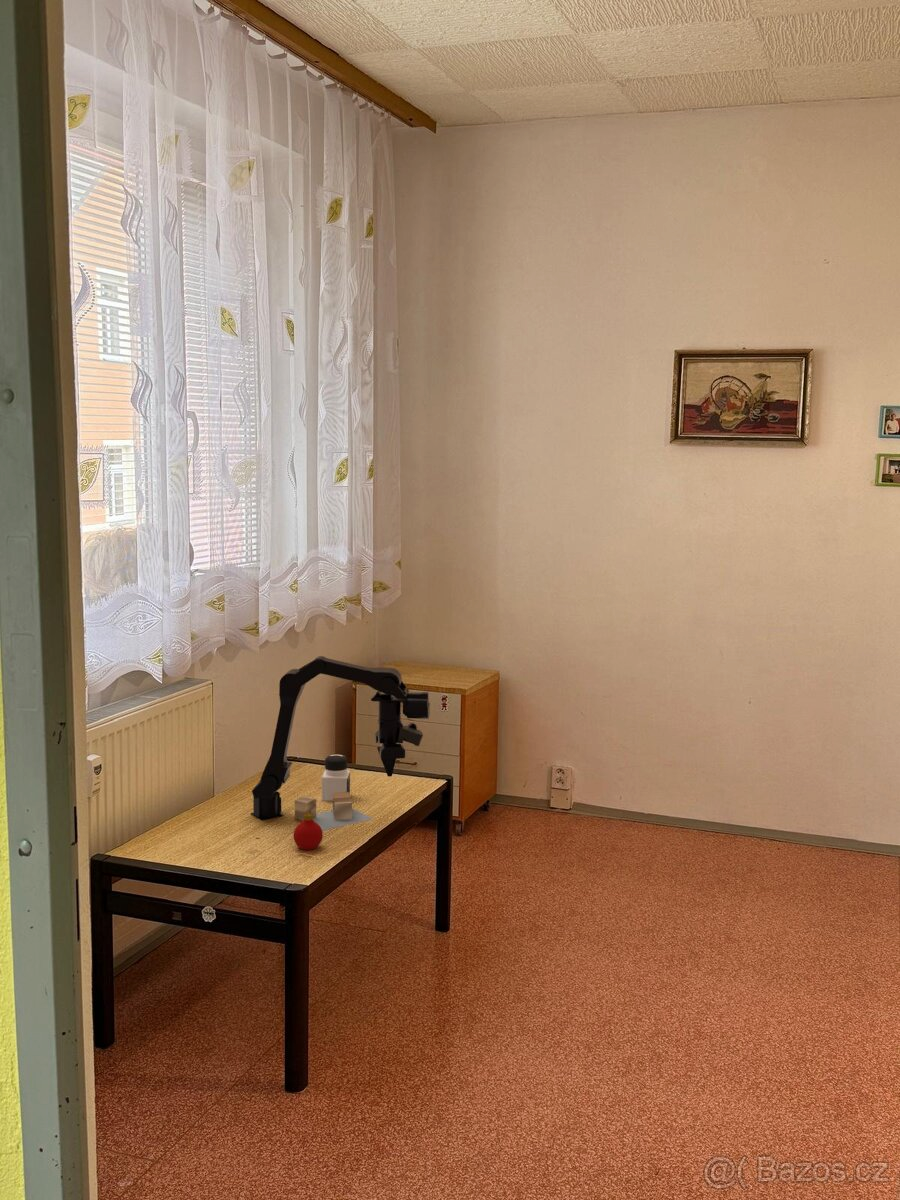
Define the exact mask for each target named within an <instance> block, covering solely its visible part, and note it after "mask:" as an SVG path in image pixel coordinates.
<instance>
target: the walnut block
mask: <svg viewBox="0 0 900 1200" xmlns="http://www.w3.org/2000/svg"><path fill="white" fill-rule="evenodd" d="M352 809H353V801H352V797H351V791H350V792H339V793H333V801H332V810H333V813H334V819H335V820H348V819H352Z"/></svg>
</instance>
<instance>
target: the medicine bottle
mask: <svg viewBox="0 0 900 1200" xmlns="http://www.w3.org/2000/svg"><path fill="white" fill-rule="evenodd" d="M339 792H350V793H351V770H349V769H348V758H347V757H346V756H345V755H342V754H332V755H331V754H330V755H328V756H325V758H324V771H323V773H322V775H321V801H322V802H333V793H339Z"/></svg>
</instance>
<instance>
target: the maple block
mask: <svg viewBox="0 0 900 1200" xmlns="http://www.w3.org/2000/svg"><path fill="white" fill-rule="evenodd" d="M307 810H308V811H307ZM309 810H310V811H311V813H310V811H309ZM306 811H307V814H312V819H313V818H315V817H316V814H317V798H315V797H309V796H306V795H304V796H301V797H298V798H296V799H294V819H295V820H299V821H301V820H303V821H304V815H305V814H306ZM303 821H302V822H303Z"/></svg>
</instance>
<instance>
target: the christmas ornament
mask: <svg viewBox="0 0 900 1200" xmlns="http://www.w3.org/2000/svg"><path fill="white" fill-rule="evenodd" d="M307 811H308V810H307ZM307 811H306V814H305V815H304V821H300V822H299V823H298V824H297V825H296V827H295V828H294V830H293V841H294V844H296V846H297V847H298V848H300V849H301V850H304V851H312V850H314V849H316V848H318V847H319V846H320V844H321V843H322V841H323V839H324V838H323V837H324V833H323V832H324V831H322V829H321V827H320V826H319V825H318V824H317V823H316V822H314V821H313V820H312V814H307ZM309 811H310V810H309ZM310 813H311V811H310Z"/></svg>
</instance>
